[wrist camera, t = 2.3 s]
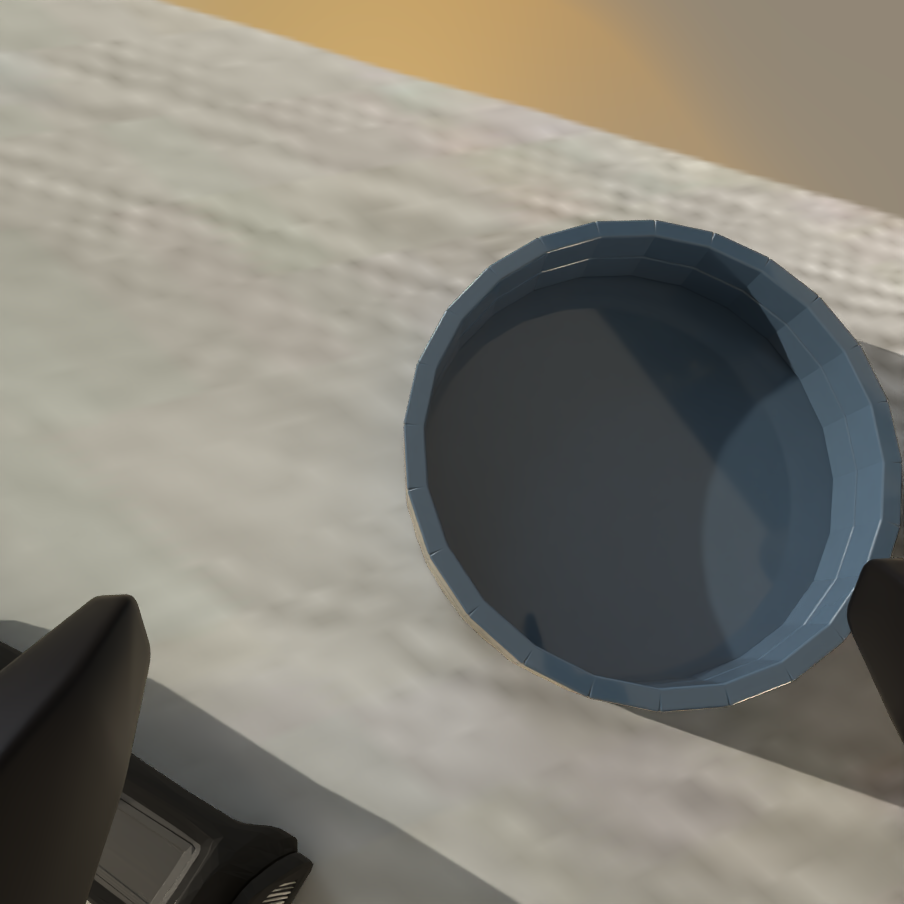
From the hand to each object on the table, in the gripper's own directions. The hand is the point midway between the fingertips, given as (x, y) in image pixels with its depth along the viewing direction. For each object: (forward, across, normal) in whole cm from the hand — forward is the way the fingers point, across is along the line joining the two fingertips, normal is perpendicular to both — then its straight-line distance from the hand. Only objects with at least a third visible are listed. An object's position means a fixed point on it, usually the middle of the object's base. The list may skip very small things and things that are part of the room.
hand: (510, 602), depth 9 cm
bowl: (+12, -6, +6) cm, 15 cm away
